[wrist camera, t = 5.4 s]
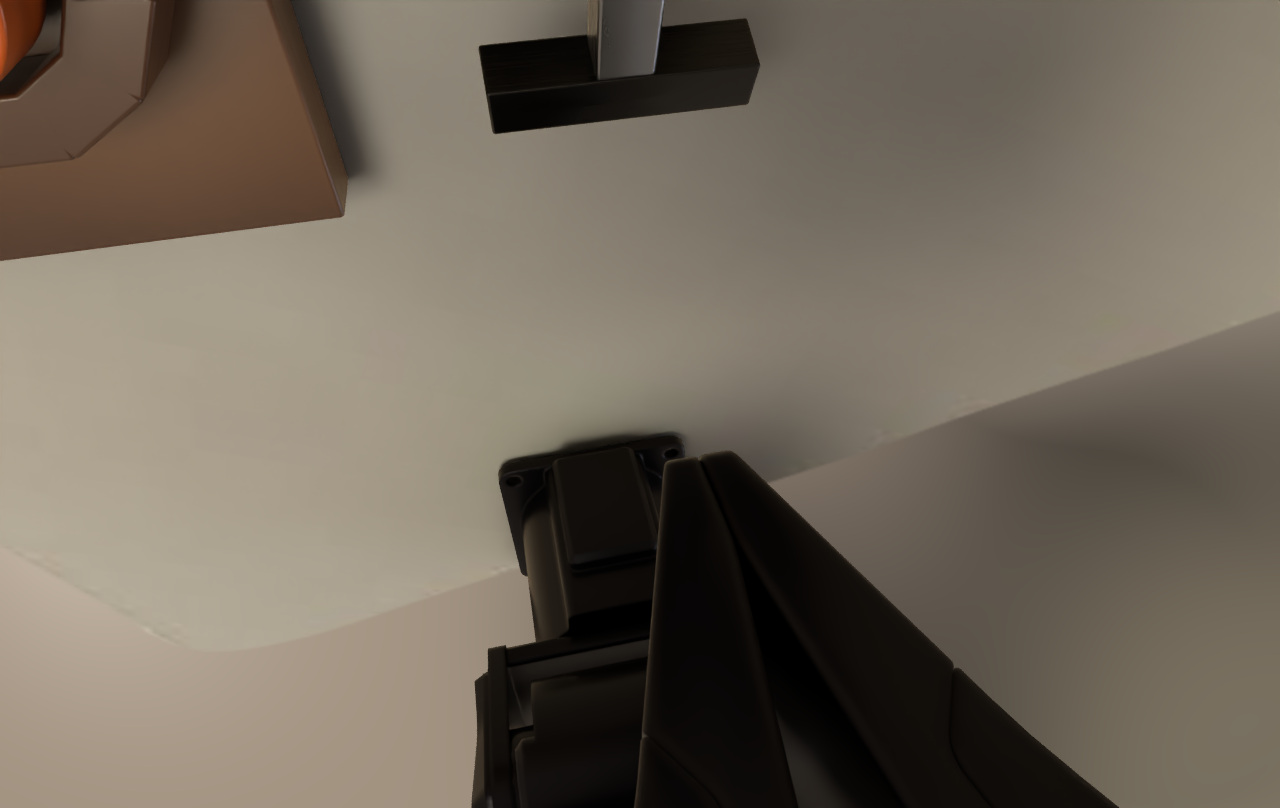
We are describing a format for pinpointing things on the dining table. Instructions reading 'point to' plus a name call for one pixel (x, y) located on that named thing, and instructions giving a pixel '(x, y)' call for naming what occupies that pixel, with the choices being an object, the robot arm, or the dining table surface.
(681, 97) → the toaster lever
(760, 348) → the dining table surface
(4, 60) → the button
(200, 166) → the button block
